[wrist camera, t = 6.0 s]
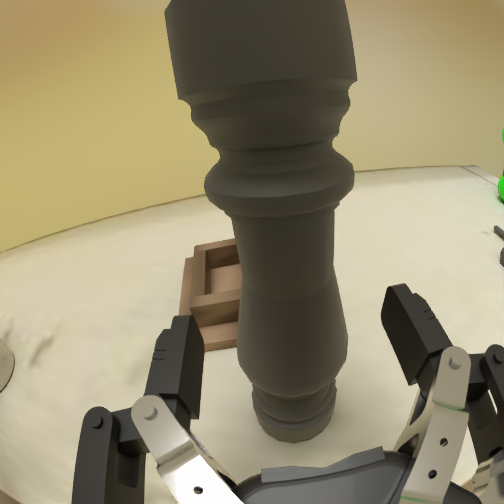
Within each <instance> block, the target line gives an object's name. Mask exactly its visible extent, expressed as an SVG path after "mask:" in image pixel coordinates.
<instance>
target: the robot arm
mask: <svg viewBox="0 0 504 504" xmlns="http://www.w3.org/2000/svg"><path fill="white" fill-rule="evenodd" d="M381 321H382V325H383V327H384V329H385V331H386V333H387V336H388V338H389V340H390V342H391V345H392V347H393V349H394V351H395V354H396V356H397V358H398V361H399V363H400V365H401V368H402V370H403V373H404V375H405V377H406V380H407V382H408V385H409V386H410V385H413V384H416V383H418V385H419V389H418V391H417V395H416V398H415V401H414V404H413V407H412V410H411V413H410V416H409V419H408V422H407V424H406V427H405V429H404V431H403V433H402V434H401V436H400V437H399V439H398V441H397V443H396V445H395V447H394V449H393V451H383V448H382V446H380V447H377V448H374V449H371V450H367V451H364V452H360V453H356V454H353V455H351V456H349V457H347V458H345V459H343V460H341V461H339V462H337V463H335V464H333V465H330V466H328V467H325V468H312V467H297V466H288V467H279V468H269V469H261V474H257V475H255V476H252V477H250V478H248V479H246V480H244V481H242V482H241V483H239V484H237V483H236V481H235V480H234V479H233V478H232V477H231V476H230V475H229V474H228V473H227V472H226V471H225V470H224V469H223V468H222V467H221V466H220V465H219V464H218V463H217V462H216V461H215V459H214V458H213V457H212V456H211V455H210V454H209V452H208V451H207V450H206V449H205V447H204V446H203V445H202V444H201V442H200V441H199V440H198V439H197V437H196V436H195V435H194V433H193V432H192V431H191V429H190V420H191V419H199V413H200V399H201V386H202V374H203V363H204V352H205V347H204V340H203V337H202V334H201V332H200V330H199V327H198V325H197V323H196V320H195V318H194V316H193V315H192V314H190V315H178V316H174V317H173V320H172V325H171V329H164V330H163V331H162V333H161V334H160V335H159V337H158V338H157V341H156V345H155V349H154V351H155V352H154V353H153V357H152V359H153V360H152V362H151V366H150V370H149V375H148V380H147V384H146V389H145V393H144V395H143V397H141V398H140V399H138V400H137V401H136V402H135V403H134V405H133V407H131V408H128V409H123V410H119V411H114V412H110V411H109V410H107V409H106V408H104V407H94V408H92V409H90V410H89V411H88V412H87V413H86V415H85V416H84V419H83V424H82V429H81V434H80V439H79V445H78V451H77V458H76V465H75V472H74V481H73V491H72V504H144V483H145V461H146V453H149V452H151V454H152V455H153V457H154V459H155V460H156V462H157V465H158V466H157V471H158V473H159V475H160V477H161V478H162V480H163V481H164V483H165V484H166V486H167V487H168V488H169V490H170V491H171V493H172V494H173V495H174V497H175V498H176V499H177V501H178V502H179V503H180V504H504V347H502V346H500V345H497V344H494V345H491V346H490V347H488V349H487V350H486V352H485V353H482V354H468V353H467V352H466V351H465V350H464V349H462V348H460V347H456V346H453V345H452V343H451V341H450V340H449V338H448V336H447V334H446V333H445V331H444V329H443V328H442V326H441V324H440V323H439V321H438V319H437V318H436V316H435V314H434V313H433V311H431V308H430V307H429V305H428V303H427V302H426V300H425V299H423V298H422V297H421V296H419V295H418V294H417V293H414V294H412V292H411V291H410V289H409V288H408V286H407V285H406V284H404V283H403V284H398V285H393V286H389V287H388V288H387V290H386V294H385V298H384V302H383V306H382V310H381ZM13 366H14V356H13V354H12V352H11V351H10V350H9V349H8V348H7V346H6V345H5V344H4V343H3V342H2V340H1V339H0V391H1V390H2V389H3V387H4V386H5V385H6V383H7V382H8V380H9V378H10V376H11V374H12V370H13ZM489 389H490V392H491V394H492V397H493V399H494V402H495V404H496V407H497V414H496V411H495V409H494V406H493V403H492V401H491V398H490V395H489V393H488V390H489ZM467 424H468V428H469V431H470V434H471V438H472V441H473V445H474V449H475V453H476V457H477V461H478V468H477V470H476V473H475V474H474V475H473V477H472V482H473V483H474V484H475V486H474V489H473V492H470V491H468V490H466V489H464V488H462V487H460V486H459V485H457V484H455V483H453V482H452V481H451V478H452V475H453V473H454V470H455V467H456V464H457V461H458V458H459V454H460V451H461V448H462V444H463V440H464V436H465V432H466V428H467Z"/></svg>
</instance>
